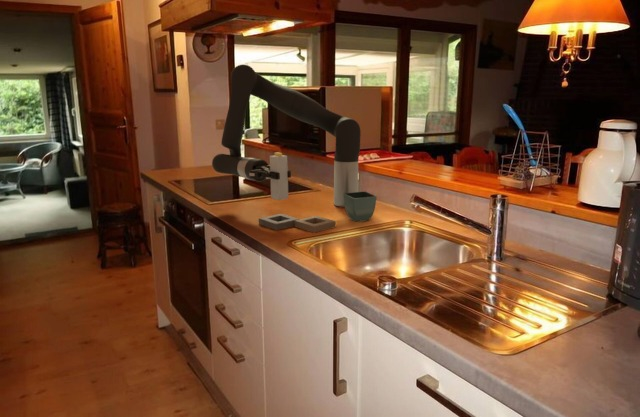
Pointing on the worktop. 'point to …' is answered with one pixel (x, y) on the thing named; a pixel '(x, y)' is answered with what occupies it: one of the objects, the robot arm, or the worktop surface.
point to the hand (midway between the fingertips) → (284, 175)
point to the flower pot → (359, 205)
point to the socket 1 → (277, 221)
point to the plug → (280, 186)
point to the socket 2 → (315, 223)
